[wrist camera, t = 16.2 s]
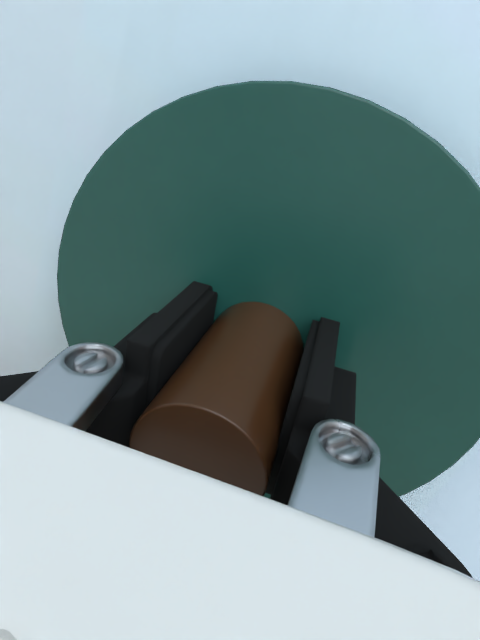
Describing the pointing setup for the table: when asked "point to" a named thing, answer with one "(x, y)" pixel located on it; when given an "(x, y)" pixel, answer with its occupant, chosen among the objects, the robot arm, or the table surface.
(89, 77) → the table surface
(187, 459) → the lid
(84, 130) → the table surface
